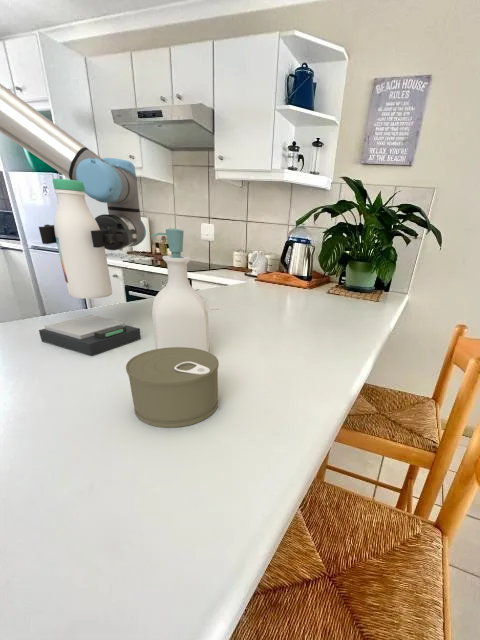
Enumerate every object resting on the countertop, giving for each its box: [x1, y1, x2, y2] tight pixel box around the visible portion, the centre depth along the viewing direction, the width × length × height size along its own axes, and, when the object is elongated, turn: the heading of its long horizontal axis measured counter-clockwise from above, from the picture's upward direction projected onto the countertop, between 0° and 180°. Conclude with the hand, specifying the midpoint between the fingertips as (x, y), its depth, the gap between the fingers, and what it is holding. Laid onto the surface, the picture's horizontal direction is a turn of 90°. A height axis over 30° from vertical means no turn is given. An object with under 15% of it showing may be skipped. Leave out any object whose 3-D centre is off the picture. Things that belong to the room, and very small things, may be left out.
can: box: [125, 347, 220, 429], centre depth 46 cm, size 12×12×7 cm
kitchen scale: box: [38, 314, 142, 357], centre depth 67 cm, size 14×12×3 cm
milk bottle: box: [52, 178, 113, 300], centre depth 61 cm, size 8×8×20 cm
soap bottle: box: [150, 228, 210, 353], centre depth 59 cm, size 10×10×23 cm
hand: (69, 237), depth 57 cm, fingers closed on milk bottle, 8 cm apart
